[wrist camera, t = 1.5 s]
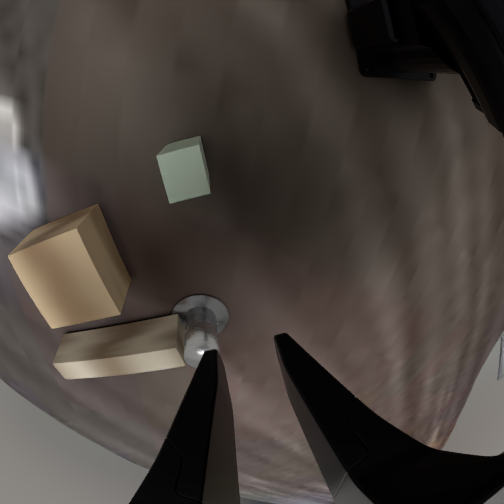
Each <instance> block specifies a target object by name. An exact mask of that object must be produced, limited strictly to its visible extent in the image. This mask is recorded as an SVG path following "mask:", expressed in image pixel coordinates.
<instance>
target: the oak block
mask: <svg viewBox="0 0 504 504" xmlns="http://www.w3.org/2000/svg"><path fill="white" fill-rule="evenodd" d="M8 258H9V260H10V262H11V263H12V265H13V267H14V269H15V271H16V273H17V274H18V276H19V278H20V280H21V281H22V283H23V285H24V287H25V288H26V290H27V292H28V293H29V295H30V296H31V298H32V300H33V301H34V303H35V304H36V306H37V307H38V309H39V311H40V312H41V314H42V315H43V317H44V318H45V319H46V321H47V322H48V324H49V325H50V327H51V328H52V329H53V328H58V327H63V326H69V325H73V324H78V323H83V322H88V321H93V320H98V319H102V318H107V317H112V316H116V315H121V312H122V309H123V305H124V302H125V299H126V295H127V292H128V289H129V286H130V283H131V278H130V276H129V274H128V272H127V269H126V267H125V265H124V263H123V261H122V259H121V257H120V254H119V252H118V250H117V248H116V245H115V243H114V241H113V238H112V236H111V234H110V231H109V229H108V227H107V224H106V222H105V219H104V217H103V214H102V212H101V209H100V207H99V204H96V205H93V206H90V207H88V208H85V209H82V210H80V211H77V212H75V213H72V214H70V215H67V216H65V217H62V218H60V219H57V220H55V221H52V222H50V223H48V224H45V225H43V226H41V227H38V228H36V229H34V230H33V231H32V232H30V233H29V234H28V235H27V236H26V237H25V238H24V239H23V241H22V242H21V243H20V244H19V245H18V246H17V247H16V248H15V249H14V250H13V251H12V252H11V253H10V254H9V255H8Z"/></svg>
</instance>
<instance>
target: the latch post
mask: <svg viewBox="0 0 504 504" xmlns="http://www.w3.org/2000/svg"><path fill="white" fill-rule="evenodd" d="M156 157H157V160H158V164H159V168H160V171H161V175H162V179H163V182H164V186H165V189H166V193H167V196H168V200H169V203H170V204H171V203H175V202H179V201H183V200H187V199H191V198H195V197H199V196H203V195H207V194H211V193H210V181H209V172H208V168H207V163H206V159H205V154H204V150H203V146H202V141H201V137H200V136H197V137H192V138H188V139H184V140H181V141H177V142H173V143H169V144H167V145H166V146H165V147H164V148H163V149H162V150H161V151H160V152H159V154H158V155H157V156H156Z"/></svg>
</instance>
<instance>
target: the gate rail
mask: <svg viewBox="0 0 504 504" xmlns="http://www.w3.org/2000/svg"><path fill="white" fill-rule="evenodd" d="M184 332H185V329H184V327H183V325H182V322H181V320H180V318H179V316H178V314H175V315H170V316H165V317H160V318H155V319H150V320H144V321H139V322H134V323H128V324H123V325H117V326H112V327H106V328H100V329H94V330H88V331H82V332H76V333H69V334H64V336H63V338H62V341H61V343H60V346H59V348H58V351H57V353H56V356H55V358H54V361H53V365H54V366H55V367H56V369H57V370H58V371H59V372H60V373H61V374H62V376H63V377H64V378H65V379H78V378H92V377H104V376H114V375H124V374H133V373H141V372H148V371H156V370H162V369H169V368H175V367H182V366H186V362H185V360H184Z"/></svg>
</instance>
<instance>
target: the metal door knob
mask: <svg viewBox="0 0 504 504" xmlns="http://www.w3.org/2000/svg"><path fill="white" fill-rule="evenodd" d="M175 314H178V316H179V318H180V320H181V322H182V325H183V327H184V329H185V332H184V360H185V362H186V363H187V364H188V365H190V366H192V367H194V368H197V367H198V364H199V362H200V360H201V358H202V355H203V353H204V352H205V351H207V350H212V349H217V350H218V352H219V344H218V333H220V332H221V331H222V330H223V329H224V328H225V327H226V325H227V323H228V320H229V313H228V310H227V308H226V306H225V305H224V303H222V302H221V301H220V300H219V299H217V298H215V297H212V296H209V295H203V294H197V295H191V296H188V297H185V298H183V299H182V300H180V301H179V302H178V303H177V304H176V305H175V307H174V309H173V312H172V315H175ZM219 354H220V353H219Z"/></svg>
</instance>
